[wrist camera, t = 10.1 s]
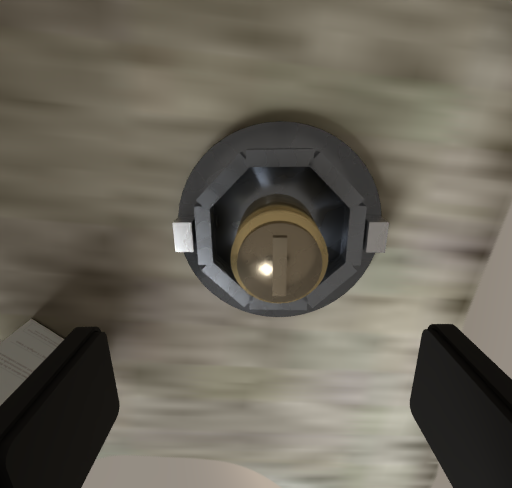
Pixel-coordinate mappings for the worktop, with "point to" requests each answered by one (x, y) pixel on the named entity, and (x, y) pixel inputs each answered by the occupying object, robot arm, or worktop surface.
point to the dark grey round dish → (288, 183)
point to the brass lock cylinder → (278, 250)
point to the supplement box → (24, 355)
